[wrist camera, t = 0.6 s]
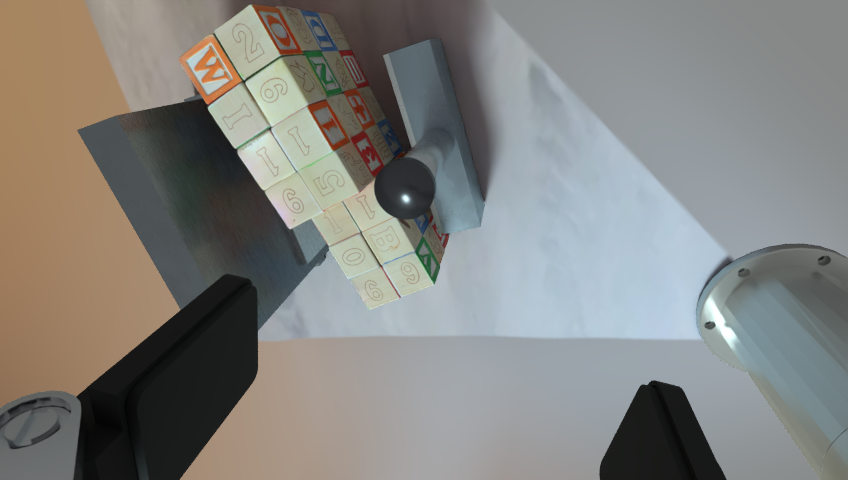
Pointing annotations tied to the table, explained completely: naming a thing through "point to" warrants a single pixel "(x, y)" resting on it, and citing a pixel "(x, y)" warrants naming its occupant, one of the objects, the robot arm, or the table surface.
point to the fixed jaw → (200, 204)
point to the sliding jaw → (429, 145)
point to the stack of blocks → (315, 141)
